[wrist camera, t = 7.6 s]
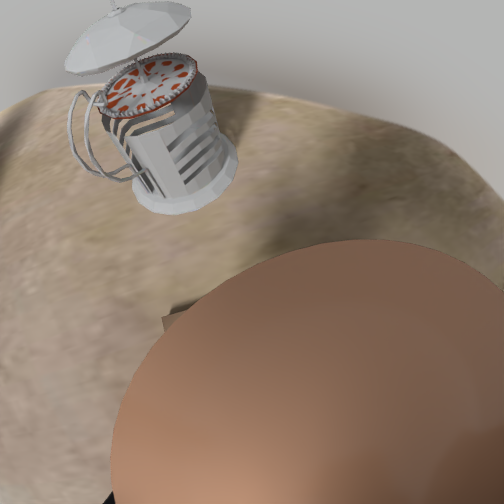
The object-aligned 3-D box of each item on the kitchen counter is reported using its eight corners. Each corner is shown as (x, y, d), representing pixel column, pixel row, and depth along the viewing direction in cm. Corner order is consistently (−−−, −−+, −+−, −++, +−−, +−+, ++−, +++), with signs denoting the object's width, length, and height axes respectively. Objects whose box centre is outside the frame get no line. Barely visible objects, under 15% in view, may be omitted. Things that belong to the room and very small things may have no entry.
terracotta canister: (373, 399, 12) (582, 423, 1) (292, 467, 12) (305, 661, 1) (306, 326, 14) (374, 159, 3) (225, 392, 13) (39, 424, 2)
